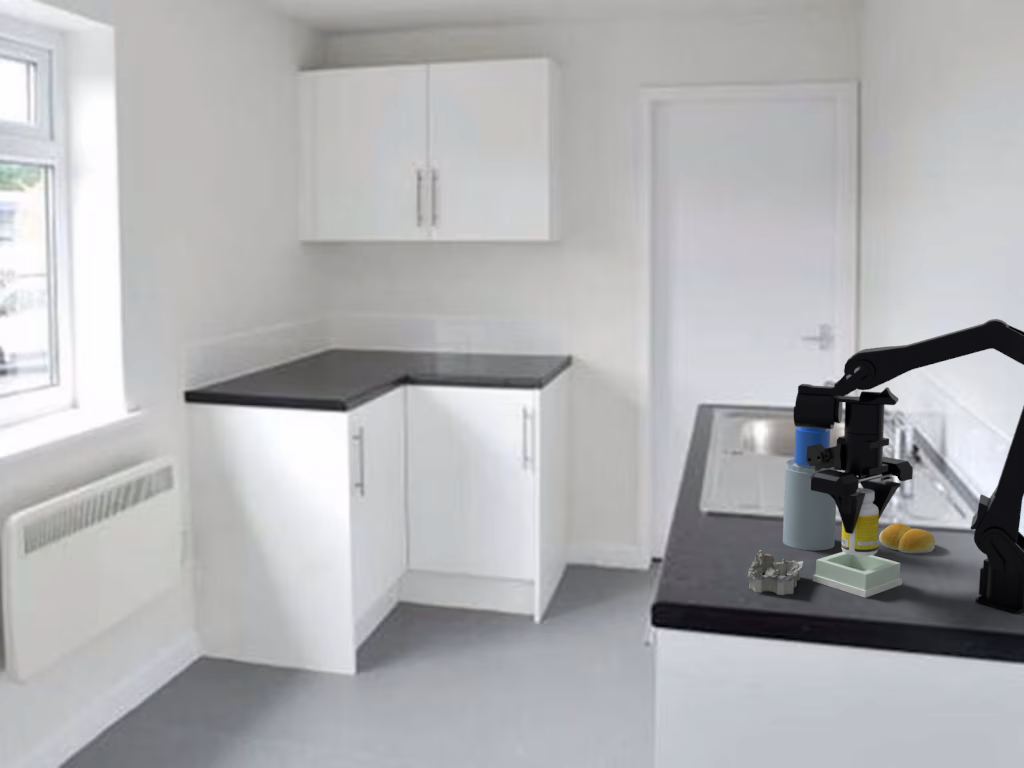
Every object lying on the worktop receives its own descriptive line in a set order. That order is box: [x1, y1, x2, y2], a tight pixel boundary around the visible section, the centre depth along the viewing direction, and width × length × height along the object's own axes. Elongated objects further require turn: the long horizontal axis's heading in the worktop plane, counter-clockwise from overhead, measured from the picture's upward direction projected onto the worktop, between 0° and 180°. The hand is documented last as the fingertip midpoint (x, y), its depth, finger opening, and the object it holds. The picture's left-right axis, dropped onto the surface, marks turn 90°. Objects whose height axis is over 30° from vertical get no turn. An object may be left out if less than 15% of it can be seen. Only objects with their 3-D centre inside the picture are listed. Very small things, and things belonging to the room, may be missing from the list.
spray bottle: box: [782, 426, 838, 551], centre depth 180 cm, size 9×9×25 cm
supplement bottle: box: [841, 487, 880, 556], centre depth 159 cm, size 5×5×10 cm
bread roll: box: [878, 523, 936, 555], centre depth 179 cm, size 8×9×4 cm
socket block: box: [812, 551, 903, 598], centre depth 160 cm, size 10×10×4 cm
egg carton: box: [747, 549, 804, 596], centre depth 161 cm, size 11×8×4 cm
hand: (860, 529), depth 159 cm, fingers closed on supplement bottle, 5 cm apart
